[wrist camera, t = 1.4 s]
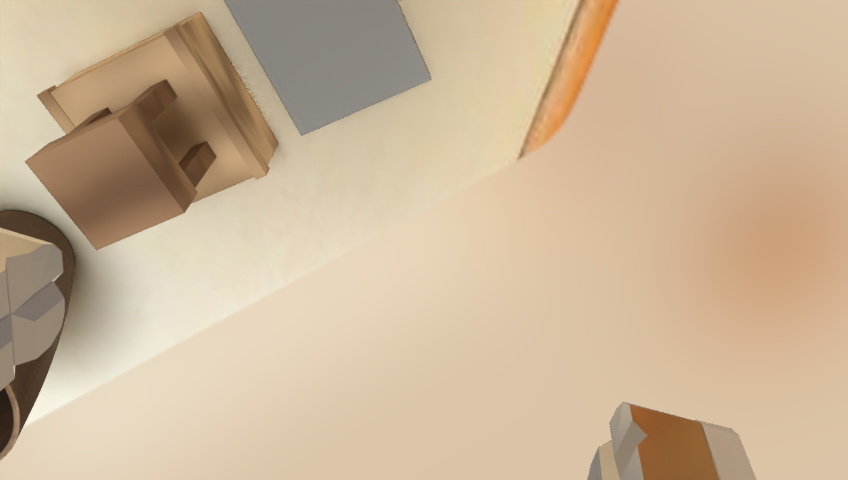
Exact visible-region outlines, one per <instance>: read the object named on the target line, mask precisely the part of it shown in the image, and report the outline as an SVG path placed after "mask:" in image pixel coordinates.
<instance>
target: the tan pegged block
mask: <svg viewBox="0 0 848 480" xmlns="http://www.w3.org/2000/svg"><path fill="white" fill-rule="evenodd" d="M177 97H178V96H177V95H176V93H175V92H174V90H173V88H172V87H171V85H170V84H169V82H168V81H167V79H165V80H163V81H161V82H159V83H157V84H155V85H153V86H151V87H149V88H148V89H147V90H146V91H145V92H143V93H142V94H141V95H140V96H139V97H138V98H136V99H135V100H134V101H133V102H132V103H131V104H129V105H128V106H126V107H124V108H122V109H120V110H118V111H116V112H114V113H112V112H111V111H110V110H109V108H108V107H107V108H105V109H103V110H100V111H98V112H96V113H94V114H92V115H91V116H90V117H88V118H87V119H86V120H85V121H83V122H82V123H81V124H80V125H78V126H77V127H76V128H75V129H73V130H72V131H71V132H69V133H68V134H67V135H65V136H63V137H61V138H59V139H57V140H55V141H53V142H50V143H48V144H47V145H46V146H44V147H43V148H42V149H41V150H39V151H38V152H37V153H35V154H34V155H33V156H32V157H30V158H29V159H28V160H26V161H25V163H26V164H27V165H28V166H29V168H30V169H31V170H32V171H33V173H34V174H35V175H36V176H37V177H38V179H39V180H40V181H41V182H42V184H43V185H44V186H45V187H46V188H47V190H48V191H49V192H50V193H51V195H52V196H53V197H54V198H55V200H56V201H57V202H58V203H59V204H60V206H61V207H62V208H63V209H64V211H65V212H66V213H67V214H68V216H69V217H70V218H71V219H72V220H73V222H74V223H75V224H76V225H77V227H78V228H79V229H80V230H81V232H82V233H83V234H84V235H85V236H86V238H87V239H88V240H89V241H90V243H91V244H92V245H93V246H94V248H95V249H96V250H98V249H101V248H103V247H105V246H108V245H110V244H112V243H115V242H117V241H120V240H122V239H124V238H127V237H129V236H131V235H134V234H136V233H138V232H141V231H143V230H145V229H148V228H150V227H153V226H155V225H157V224H160V223H162V222H164V221H167V220H169V219H171V218H174V217H176V216H178V215H181V214H183V213H185V211H186V210H187V208H188V207H189V205H190V204H191V202H192V201H193V199H194V198H195V196H196V195H197V193H198V192H197V190H196V189H195V188H196V186H197V185H198V183H199V182H200V181H201V179H202V178H203V176H204V175H205V173H206V172H207V170H208V169H209V167H210V166H211V165H212V163H213V162H214V160H215V159H216V157H217V156H216V155H215V153H214V151H213V150H212V148H211V147H210V145H209V144H208V142H207V141H205V142H203V143H201V144H198V145H196V146H194V147H192V148H190V150H189V151H188V152H187V153H186V155H185V156H184V157H183V158H182V160H181V161H180V162H179V163H177V161H176V160H175V158H174V157H173V155H172V154H171V153H170V151H169V150H168V148H167V147H166V145H165V144H164V142H163V141H162V139H161V138H160V137H159V135H158V134H157V132H156V131H155V129H154V128H153V126H152V125H151V122H152V121H153V120H154V119H155V118H156V117H157V116H158V115H159V114H160V113H161V112H162V111H163V110H164V109H166V108H167V107H168V106H169V105H170V104H171V103H172V102H173V101H174V100H175V99H176V98H177Z"/></svg>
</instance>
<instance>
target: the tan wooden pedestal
mask: <svg viewBox="0 0 848 480" xmlns="http://www.w3.org/2000/svg"><path fill="white" fill-rule="evenodd" d="M165 79H167V81H168V82H169V84H170V85H171V87H172V88H173V90H174V92H175V93H176V95H177V96H178V97H177V98H176V99H175V100H174V101H173V102H172V103H171V104H170V105H169V106H168V107H167V108H166V109H164V110H163V111H162V112H161V113H160V114H159V115H158V116H157V117H156V118H155V119H154V120H153V121H152V122H151V125H152V126H153V128H154V129H155V131H156V132H157V134H158V135H159V137H160V138H161V139H162V141H163V142H164V144H165V145H166V147H167V148H168V150H169V151H170V153H171V154H172V155H173V157H174V158H175V160H176V161H177V163H179V162H180V161H181V160H182V158H183V157H184V156H185V155H186V153H187V152H188V151H189V150H190V148H192V147H194V146H196V145H198V144H201V143H203V142H205V141H207V142H208V144H209V145H210V147H211V148H212V150H213V151H214V153H215V155H216V156H217V157H216V159H215V160H214V162H213V163H212V165H211V166H210V167H209V169H208V170H207V172H206V173H205V175H204V176H203V178H202V179H201V181H200V182H199V183H198V185H197V186H196V188H195V189H196V190H197V192H198V193H197V195H196V196H195V198H194V199H193V201H192V202H191V203H193V202H196V201H198V200H200V199H203V198H205V197H207V196H210V195H212V194H214V193H217V192H219V191H222V190H224V189H226V188H229V187H231V186H233V185H236V184H238V183H240V182H243V181H245V180H247V179H250V178H252V177H255V179H258V178H261V177H263V176H265V175H267V173H268V171H269V167H268V166H267V165H268V163H269V161H270V159H271V157H272V155H273V153H274V151H275V149H276V147H277V145H278V144H279V143H278V141H277V140H276V138H275V136H274V135H273V133H272V131H271V129H270V128H269V126H268V124H267V123H266V121H265V119H264V118H263V116H262V114H261V113H260V111H259V109H258V108H257V106H256V104H255V103H254V101H253V99H252V97H251V96H250V94H249V92H248V91H247V89H246V87H245V86H244V84H243V82H242V81H241V79H240V77H239V76H238V74H237V72H236V71H235V69H234V67H233V66H232V64H231V62H230V60H229V59H228V57H227V55H226V54H225V52H224V50H223V49H222V47H221V45H220V44H219V42H218V40H217V39H216V37H215V35H214V34H213V32H212V30H211V28H210V27H209V25H208V23H207V22H206V20H205V18H204V17H203V15H202V13H201V12H200V13H198V14H196V15H194V16H192V17H190V18H188V19H186V20H184V21H182V22H180V23H178V24H176V25H174V26H172V27H170V28H168V29H166V30H164V31H162V32H160V33H158V34H156V35H154V36H152V37H150V38H148V39H146V40H144V41H142V42H140V43H138V44H136V45H134V46H132V47H130V48H128V49H126V50H124V51H122V52H120V53H118V54H116V55H114V56H112V57H110V58H108V59H106V60H104V61H102V62H100V63H98V64H95V65H93V66H91V67H89V68H87V69H85V70H83V71H81V72H79V73H77V74H76V75H74V76H73V77H71V78H70V79H68V80H67V81H65V82H64V83H62V84H60V85H59V86H57V87H56V86H55V85H54V86H52V87H50V88H48V89H46V90H44V91H43V92H41V93H40V94H38V95H37V97H38V98H39V99H40V101H41V102H42V103H43V105H44V106H45V107H46V108H47V110H48V111H49V112H50V114H51V115H52V116H53V118H54V119H55V120H56V122H57V123H58V124H59V126H60V127H61V128H62V129H63V131H64V132H65V133H66V135H67V134H68V133H69V132H71V131H72V130H73V129H75V128H76V127H77V126H78V125H80V124H81V123H82V122H83V121H85V120H86V119H87V118H88V117H90V116H91V115H92V114H94V113H96V112H98V111H100V110H103V109H105V108H107V107H108V108H109V110H110V111H111V112H112V113H114V112H116V111H118V110H120V109H122V108H124V107H126V106H128V105H129V104H131V103H132V102H133V101H134V100H135V99H136V98H138V97H139V96H140V95H141V94H142V93H143V92H145V91H146V90H147V89H148V88H149V87H151V86H153V85H155V84H157V83H159V82H161V81H163V80H165Z"/></svg>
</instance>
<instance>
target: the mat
mask: <svg viewBox="0 0 848 480" xmlns="http://www.w3.org/2000/svg"><path fill="white" fill-rule="evenodd" d="M225 3H226V5H227V6H228V8H229V10H230V12H231V13H232V15H233V17H234V19H235V20H236V22H237V24H238V26H239V27H240V29H241V31H242V33H243V34H244V36H245V38H246V40H247V41H248V43H249V45H250V47H251V48H252V50H253V52H254V54H255V55H256V57H257V59H258V61H259V62H260V64H261V66H262V68H263V69H264V71H265V73H266V75H267V76H268V78H269V80H270V82H271V83H272V85H273V87H274V89H275V90H276V92H277V94H278V96H279V97H280V99H281V101H282V103H283V104H284V106H285V108H286V110H287V111H288V113H289V115H290V117H291V118H292V120H293V122H294V124H295V125H296V127H297V129H298V131H299V132H300V134H301V136H302V135H305V134H307V133H309V132H311V131H314V130H316V129H318V128H321V127H323V126H325V125H328V124H330V123H332V122H334V121H337V120H339V119H341V118H344V117H346V116H348V115H351V114H353V113H355V112H357V111H360V110H362V109H364V108H367V107H369V106H371V105H374V104H376V103H378V102H380V101H383V100H385V99H387V98H390V97H392V96H394V95H397V94H399V93H401V92H404V91H406V90H408V89H410V88H413V87H415V86H417V85H420V84H422V83H424V82H427V81H429V80H431V76H430V74H429V71H428V69H427V67H426V65H425V62H424V60H423V58H422V56H421V53H420V51H419V49H418V47H417V44H416V42H415V40H414V38H413V35H412V33H411V31H410V29H409V27H408V24H407V22H406V20H405V18H404V15H403V13H402V11H401V9H400V6H399V4H398V2H397V0H225Z"/></svg>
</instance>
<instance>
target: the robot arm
mask: <svg viewBox="0 0 848 480" xmlns="http://www.w3.org/2000/svg"><path fill="white" fill-rule="evenodd" d="M62 273H63V261H62V251H61V250H60V249H59V248H58V247H57V246H55V245H54V244H53V243H49V242H46V241H43V240H39V239H36V238H33V237H29V236H26V235H23V234H19V233H16V232H13V231H9V230H6V229H3V228H0V391H1V390H2V389H3V388H4V387H6V386H7V385H8V384H9V383H10V382H11V381H12V380H14V379H15V366H16V365H19V364H22V363H25V362H28V361H32V360H35V359H37V358H38V357H39V356H41V355H42V354H43V353H44V352H45V351H46V350H47V349H48V348H49V347H50V346H51V345H52V343H53V341H54V340H55V338H56V336H57V334H58V333H59V331H60V329H61V327H62V322H63V318H64V313H65V300H64V296H63V295H62V293H61V292H60V290H59V289H58V287H57V286H56V284H55V283H54V281H55V280H56V279H57V278H58V277H59V276H60V275H61V274H62ZM610 430H611V438H612V440H610V441H608V442H607V443H605V444H603V445H601V446H599V447H598V449H597V452H596V454H595V456H594V459H593V461H592V464H591V467H590V471H589V476H588V480H756V478H755V475H754V472H753V470H752V467H751V465H750V462H749V460H748V457H747V455H746V452H745V450H744V447H743V445H742V442H741V440H740V437H739V435H738V434H737V433H736V432H735V431H734V430H733V429H731V428H727V427H723V426H719V425H714V424H711V423H706V422H702V421H698V420H690V419H686V418H682V417H679V416H675V415H671V414H668V413H664V412H660V411H656V410H652V409H649V408H645V407H641V406H637V405H634V404H630V403H626V402H622V403H621V404H620V406H619V407H618V408H617V409H616V411H615V413H614V415H613V417H612V419H611V421H610Z"/></svg>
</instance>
